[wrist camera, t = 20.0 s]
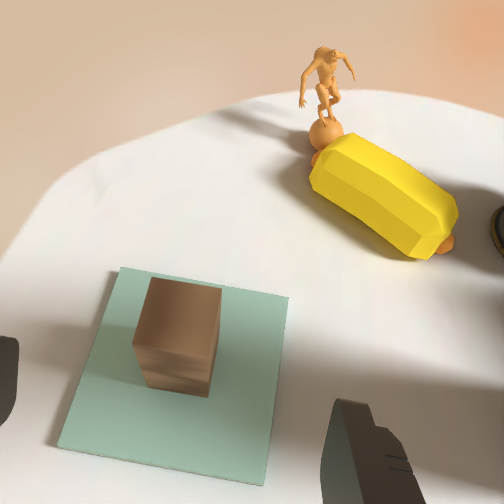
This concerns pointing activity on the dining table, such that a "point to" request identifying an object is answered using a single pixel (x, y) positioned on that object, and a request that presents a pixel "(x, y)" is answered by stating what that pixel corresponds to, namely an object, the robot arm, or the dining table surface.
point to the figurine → (324, 96)
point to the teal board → (176, 404)
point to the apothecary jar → (498, 229)
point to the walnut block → (178, 336)
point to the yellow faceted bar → (386, 195)
